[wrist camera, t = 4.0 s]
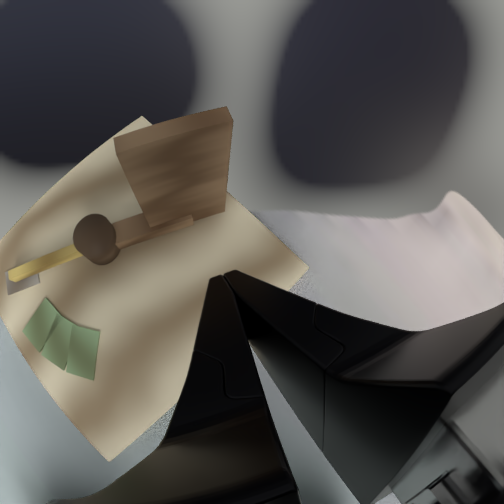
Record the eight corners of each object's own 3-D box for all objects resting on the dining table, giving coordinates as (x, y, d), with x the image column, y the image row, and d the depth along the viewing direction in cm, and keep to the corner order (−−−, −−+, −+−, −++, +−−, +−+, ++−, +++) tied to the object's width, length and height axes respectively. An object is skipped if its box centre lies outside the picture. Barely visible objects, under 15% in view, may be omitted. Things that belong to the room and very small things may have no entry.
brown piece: (19, 296, 18) (-67, 261, 9) (15, 262, 19) (-63, 214, 10) (229, 223, 22) (240, 136, 13) (216, 189, 23) (220, 93, 14)
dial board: (305, 271, 23) (310, 267, 22) (113, 458, 17) (108, 463, 16) (143, 122, 26) (141, 114, 25) (-16, 270, 20) (-23, 267, 18)
